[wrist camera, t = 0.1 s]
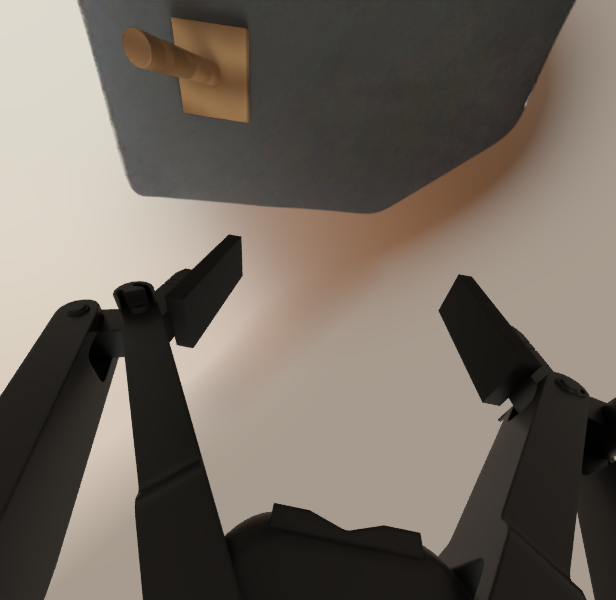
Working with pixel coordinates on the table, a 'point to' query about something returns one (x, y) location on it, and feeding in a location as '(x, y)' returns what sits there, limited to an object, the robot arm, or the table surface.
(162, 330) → the robot arm
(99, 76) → the table surface
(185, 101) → the peg stand
